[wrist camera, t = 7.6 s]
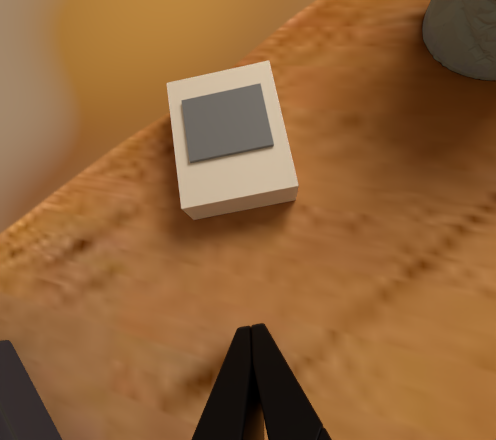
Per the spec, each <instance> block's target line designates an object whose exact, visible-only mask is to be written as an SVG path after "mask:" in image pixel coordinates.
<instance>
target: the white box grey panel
mask: <svg viewBox="0 0 496 440" xmlns="http://www.w3.org/2000/svg"><path fill="white" fill-rule="evenodd" d="M167 91H168V99H169V108H170V116H171V125H172V133H173V142H174V150H175V159H176V167H177V176H178V184H179V193H180V201H181V209H182V210H183V211H184V212H185V213H187V214H188V215H189V216H190V217H191V218H192V219H193V220H196V219H201V218H206V217H212V216H217V215H222V214H227V213H232V212H237V211H242V210H248V209H253V208H258V207H263V206H268V205H273V204H278V203H283V202H289V201H294V200H296V196H297V191H298V186H299V185H298V181H297V177H296V172H295V168H294V164H293V160H292V155H291V151H290V147H289V143H288V139H287V134H286V130H285V126H284V122H283V117H282V113H281V109H280V105H279V100H278V96H277V92H276V88H275V83H274V79H273V75H272V71H271V66H270V62H269V61H264V62H260V63H255V64H251V65H246V66H242V67H237V68H233V69H228V70H224V71H219V72H215V73H211V74H206V75H202V76H196V77H192V78H187V79H183V80H178V81H174V82H170V83H167Z"/></svg>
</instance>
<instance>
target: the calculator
mask: <svg viewBox="0 0 496 440" xmlns="http://www.w3.org/2000/svg"><path fill="white" fill-rule="evenodd" d="M0 440H62V438H61V437H60V435H59V433H58V431H57V429H56V427H55V425H54V423H53V421H52V419H51V417H50V416H49V414H48V412H47V410H46V408H45V406H44V404H43V402H42V400H41V398H40V396H39V395H38V393H37V391H36V389H35V387H34V385H33V383H32V381H31V379H30V377H29V375H28V374H27V372H26V370H25V368H24V366H23V364H22V362H21V360H20V358H19V356H18V355H17V353H16V351H15V349H14V347H13V345H12V343H11V342H10V341H9V340H3V341H0Z"/></svg>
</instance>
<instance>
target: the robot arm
mask: <svg viewBox="0 0 496 440" xmlns="http://www.w3.org/2000/svg"><path fill="white" fill-rule="evenodd" d="M264 421H265V425H266V430H267V435H268V440H332V439H331V438H330V436H329V434H328V432H327V431H326V429H325V428H323V424H322V422H321V421H320V419H319V417H318V415H317V414H316V412H315V410H314V409H313V407H312V405H311V403H310V402H309V400H308V398H307V396H306V395H305V393H304V391H303V390H302V388H301V386H300V384H299V383H298V381H297V379H296V377H295V376H294V374H293V372H292V371H291V369H290V367H289V365H288V364H287V362H286V360H285V358H284V357H283V355H282V353H281V352H280V350H279V348H278V346H277V345H276V343H275V341H274V339H273V338H272V336H271V334H270V333H269V331H268V329H267V327H266V326H265V324H264V323H260V324H255V325H252V326H243V327H239V328H238V329H237V330H236V333H235V335H234V338H233V340H232V342H231V345H230V347H229V350H228V352H227V355H226V357H225V359H224V362H223V364H222V367H221V369H220V372H219V374H218V376H217V379H216V381H215V384H214V386H213V389H212V391H211V393H210V396H209V398H208V401H207V403H206V406H205V408H204V410H203V413H202V415H201V418H200V420H199V423H198V425H197V427H196V430H195V432H194V435H193V437H192V440H264Z"/></svg>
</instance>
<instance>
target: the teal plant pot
mask: <svg viewBox="0 0 496 440" xmlns="http://www.w3.org/2000/svg"><path fill="white" fill-rule="evenodd" d="M422 32H423V41H424V43H425V44H426V46H427V48H428V50H429V52H430V53H431V54H432V55H433V58H434V59H435V60H437V61H439V62H441V63H442V66H445V67H447V68H448V69H449V70H452V71H454V72H456V73H459V74H461V75H464V76H467V77H472V78H474V79H478V78H479V79H481V80H496V0H431V2H430V4H429V6H428V9H427V11H426V14H425V17H424V21H423V29H422Z"/></svg>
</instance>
